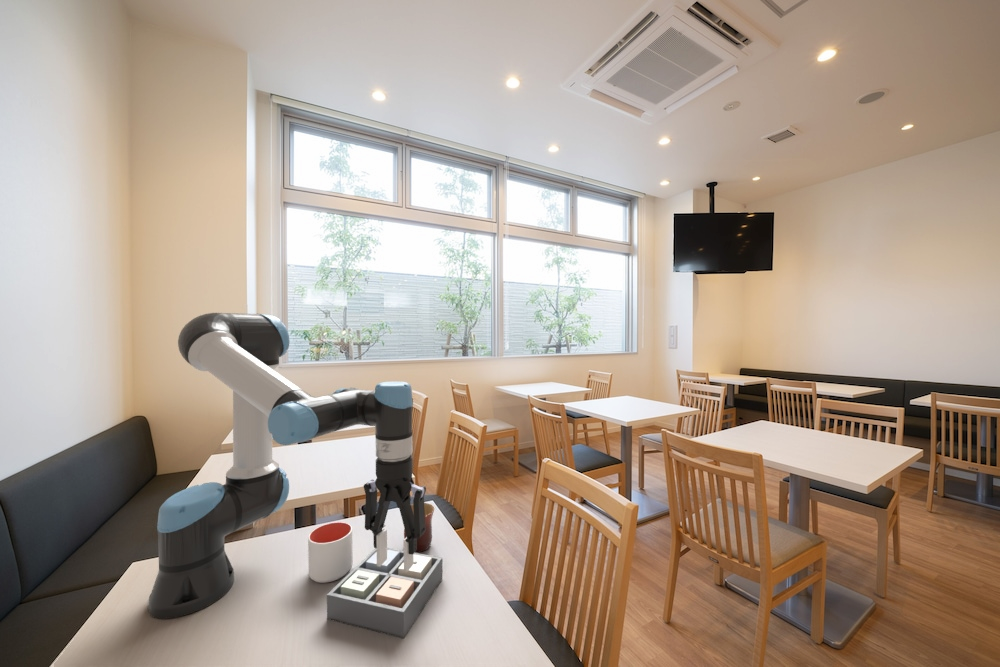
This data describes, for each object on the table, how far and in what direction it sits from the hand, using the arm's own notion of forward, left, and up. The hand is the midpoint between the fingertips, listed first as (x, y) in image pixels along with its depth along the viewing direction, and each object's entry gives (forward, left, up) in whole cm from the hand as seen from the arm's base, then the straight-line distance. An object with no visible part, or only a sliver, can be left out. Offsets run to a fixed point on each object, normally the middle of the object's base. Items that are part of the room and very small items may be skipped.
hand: (395, 564), depth 79 cm
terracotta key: (0, 0, -8) cm, 8 cm away
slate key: (-9, +9, -8) cm, 15 cm away
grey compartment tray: (-4, +4, -11) cm, 12 cm away
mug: (-7, +22, -11) cm, 26 cm away
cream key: (0, +9, -8) cm, 12 cm away
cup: (-23, +8, -11) cm, 27 cm away
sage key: (-9, 0, -8) cm, 12 cm away
